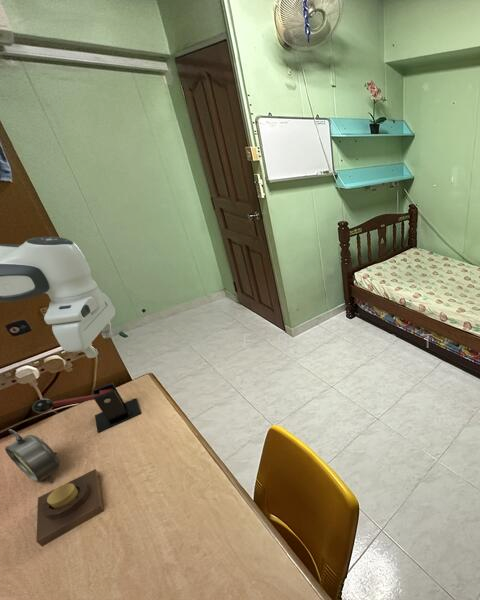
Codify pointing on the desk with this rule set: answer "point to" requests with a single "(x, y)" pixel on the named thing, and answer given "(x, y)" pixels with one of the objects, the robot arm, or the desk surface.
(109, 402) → the black lever base
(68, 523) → the brown button pad
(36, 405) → the lever
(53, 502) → the bell button
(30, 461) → the alarm clock
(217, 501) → the desk surface
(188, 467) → the desk surface
